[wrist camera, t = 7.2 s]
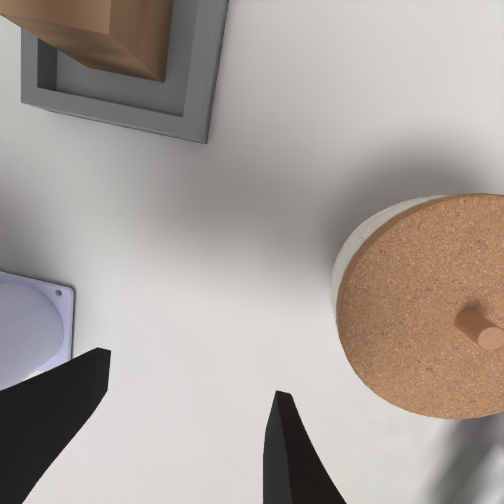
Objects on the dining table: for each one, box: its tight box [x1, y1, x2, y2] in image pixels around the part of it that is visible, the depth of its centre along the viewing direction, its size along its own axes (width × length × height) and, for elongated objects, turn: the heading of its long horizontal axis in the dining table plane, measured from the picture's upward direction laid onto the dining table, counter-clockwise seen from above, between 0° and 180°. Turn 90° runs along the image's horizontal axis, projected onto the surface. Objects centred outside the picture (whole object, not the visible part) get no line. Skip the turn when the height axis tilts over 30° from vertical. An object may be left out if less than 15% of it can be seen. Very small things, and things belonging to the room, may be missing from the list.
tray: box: [21, 0, 229, 144], centre depth 17 cm, size 11×11×2 cm
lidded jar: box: [331, 193, 504, 419], centre depth 15 cm, size 11×11×9 cm
